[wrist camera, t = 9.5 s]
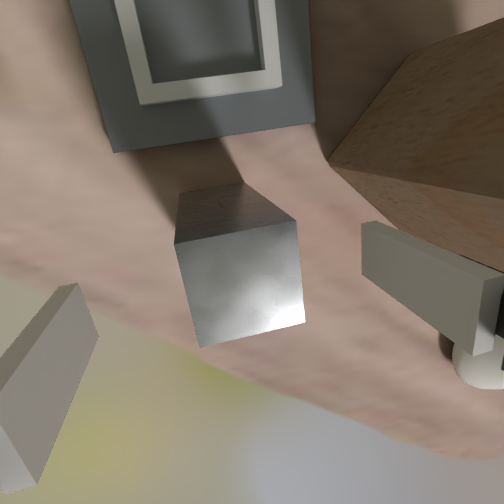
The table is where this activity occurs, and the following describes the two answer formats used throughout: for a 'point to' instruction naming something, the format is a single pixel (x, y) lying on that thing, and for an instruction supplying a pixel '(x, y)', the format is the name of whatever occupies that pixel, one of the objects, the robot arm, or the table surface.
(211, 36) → the plate
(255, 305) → the steel billet
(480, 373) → the flower in vase
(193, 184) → the table surface
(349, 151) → the wooden block
